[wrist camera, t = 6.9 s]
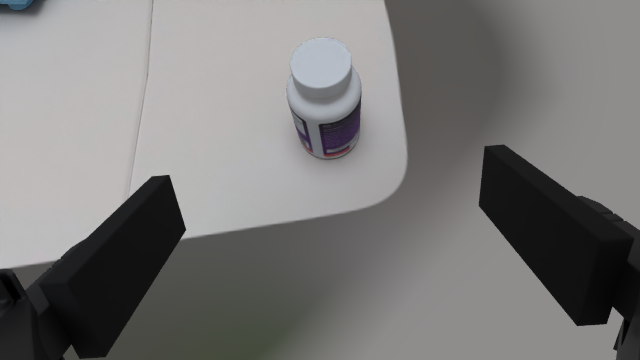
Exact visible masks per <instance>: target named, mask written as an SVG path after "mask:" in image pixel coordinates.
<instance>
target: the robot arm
mask: <svg viewBox="0 0 640 360" xmlns="http://www.w3.org/2000/svg"><path fill="white" fill-rule="evenodd" d="M479 206H480V208H481V209H482V210H483V211H484V212H485V214H486V215H487V216H488V217H489V219H490V220H491V221H492V222H493V223H494V225H495V226H496V227H497V229H498V230H499V231H500V232H501V233H502V235H503V236H504V237H505V238H506V240H507V241H508V242H509V243H510V244H511V246H512V247H513V248H514V249H515V251H516V252H517V253H518V254H519V255H520V256H521V258H522V259H523V260H524V262H525V263H526V264H527V265H528V266H529V268H530V269H531V270H532V271H533V273H534V274H535V275H536V276H537V277H538V279H539V280H540V281H541V282H542V284H543V285H544V286H545V287H546V288H547V290H548V291H549V292H550V293H551V295H552V296H553V297H554V298H555V300H556V301H557V302H558V303H559V304H560V306H561V307H562V308H563V309H564V311H565V312H566V313H567V314H568V315H569V316H570V318H571V319H572V320H573V322H574V323H575V324H576V325H577V326H585V325H600V324H607V321H608V318H609V315H610V312H611V309H612V306H613V307H614V308H615V309H616V310H617V311H618V312H619V313H620V314H621V315H622V316H623V317H624V320H623V322H622V325H621V328H620V331H619V334H618V337H617V339H616V342H615V345H614V348H613V349H614V350H617V357H616V360H640V230H638V229H637V228H635V227H634V226H633V225H631V224H630V223H628V222H627V221H623V219H622V218H621V217H619V216H618V215H616V214H613V212H612V211H611V210H609V209H608V208H606V207H605V206H603V205H602V204H600V203H598V202H596V201H593V200H591V199H588V198H586V197H583V196H575V195H574V194H572V193H571V192H569V191H568V190H566V189H565V188H564V187H562V186H561V185H559V184H558V183H557V182H556V181H554V180H553V179H551V178H550V177H549V176H547V175H546V174H544V173H543V172H541V171H540V170H539V169H537V168H536V167H535V166H533V165H532V164H530V163H529V162H528V161H526V160H525V159H523V158H522V157H521V156H519V155H518V154H516V153H515V152H514V151H512V150H511V149H509V148H508V147H507V146H505V145H494V146H485V149H484V158H483V169H482V178H481V189H480V198H479ZM185 231H186V228H185V225H184V221H183V218H182V215H181V211H180V208H179V205H178V202H177V198H176V195H175V192H174V189H173V185H172V182H171V179H170V176H169V175H163V176H152V177H151V178H150V179H149V180H148V181H147V182H145V183H144V184H143V185H142V186H141V187H140V188H139V189H138V190H137V191H136V192H135V193H134V194H133V195H132V196H131V197H130V198H129V199H128V200H126V201H125V202H124V203H123V204H122V205H121V206H120V207H119V208H118V209H117V210H116V211H115V212H114V213H113V214H112V215H111V216H110V217H108V218H107V219H106V220H105V221H104V222H103V223H102V224H101V225H100V226H99V227H98V228H97V229H96V230H95V231H94V232H93V233H92V234H91V235H89V236H88V237H87V238H86V239H84V240H83V241H81V242H80V243H78V244H76V245H75V246H73V247H71V248H70V249H69V250H68V251H67V252H66V253H65V254H64V255H63V256H62V257H61V259H58V260H57V261H56V262H55V263H54V264H53V265H52V268H49V269H48V270H47V271H46V272H44V273H43V274H42V275H41V276H40V277H39V278H38V279H37V280H36V281H35V282H34V283H33V284H32V285H30V286H29V287H28V288H27V289H26V290H24V289H23V287H22V285H21V284H20V282H19V280H18V278H17V277H16V275H15V273H14V272H13V271H12V270H11V269H0V360H65V359H64V358H63V354H64V353H65V352H66V350H67V349H68V348H69V347H70V345H71V344H72V346H73V348H74V349H75V351H76V353H77V355H78V356H79V358H80V359H84V358H99V357H106V355H107V354H108V352H109V350H110V349H111V347H112V346H113V344H114V342H115V341H116V340H117V338H118V336H119V335H120V333H121V331H122V330H123V328H124V327H125V325H126V324H127V322H128V321H129V319H130V317H131V316H132V314H133V313H134V311H135V310H136V308H137V306H138V305H139V303H140V302H141V300H142V299H143V297H144V295H145V294H146V292H147V291H148V289H149V287H150V286H151V284H152V283H153V281H154V280H155V278H156V277H157V275H158V273H159V272H160V270H161V269H162V267H163V265H164V264H165V262H166V261H167V259H168V258H169V256H170V254H171V253H172V251H173V250H174V248H175V247H176V245H177V243H178V242H179V240H180V239H181V237H182V236H183V234H184V232H185Z"/></svg>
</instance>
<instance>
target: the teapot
mask: <svg viewBox="0 0 640 360" xmlns="http://www.w3.org/2000/svg"><path fill="white" fill-rule="evenodd" d="M32 1H33V0H0V4H8V5H9V6H10V8H11V9H13V10H22V9H24V8H26V7H28V6H29V5H30V4H31V3H32Z"/></svg>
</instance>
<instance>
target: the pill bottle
mask: <svg viewBox="0 0 640 360" xmlns="http://www.w3.org/2000/svg"><path fill="white" fill-rule="evenodd" d="M290 69H291V75H290V77H289V79H288V82H287V88H286V93H287V99H288V103H289V106H290V109H291V113H292V116H293V119H294V122H295V126H296V129H297V132H298V135H299V138H300V141H301V143H302V145H303V146H304V148H305V149H306V150H307V151H308V152H309V153H311V154H312V155H314V156H316V157H319V158H324V159H332V158H337V157H340V156H343V155H345V154H346V153H348V152H349V151H350V150H351V149H352V148H353V147H354V146H355V144H356V142H357V140H358V137H359V132H360V109H361V82H360V78H359V75H358V73H357V72H356V70H355V69H354V67H353V66H352V58H351V54H350V52H349V50H348V49H347V47H346V46H345V45H344V44H343V43H341V42H339V41H338V40H335V39H332V38H327V37H318V38H313V39H310V40H308V41H306V42H304V43H302V44H301V45H300V46H299V47H297V49H296V50H295V51H294V53H293V55H292V57H291V60H290Z"/></svg>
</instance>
